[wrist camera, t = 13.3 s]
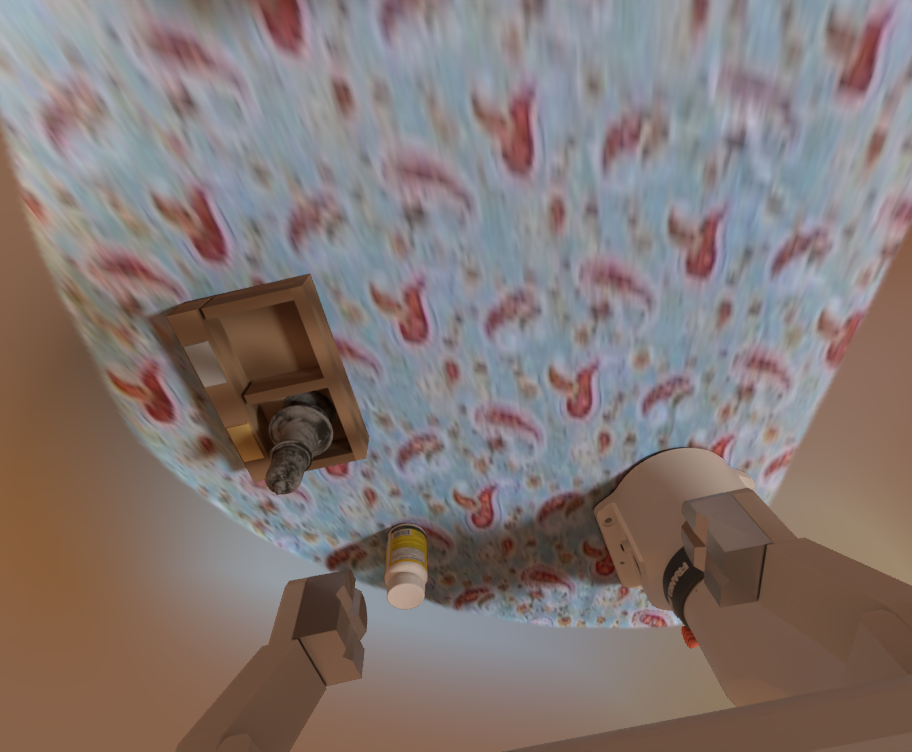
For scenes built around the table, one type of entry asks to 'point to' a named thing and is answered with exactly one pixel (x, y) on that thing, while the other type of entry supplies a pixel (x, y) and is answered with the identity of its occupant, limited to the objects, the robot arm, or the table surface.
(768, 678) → the robot arm
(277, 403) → the divided sorting tray
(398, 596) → the supplement bottle
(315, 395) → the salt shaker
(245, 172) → the table surface
